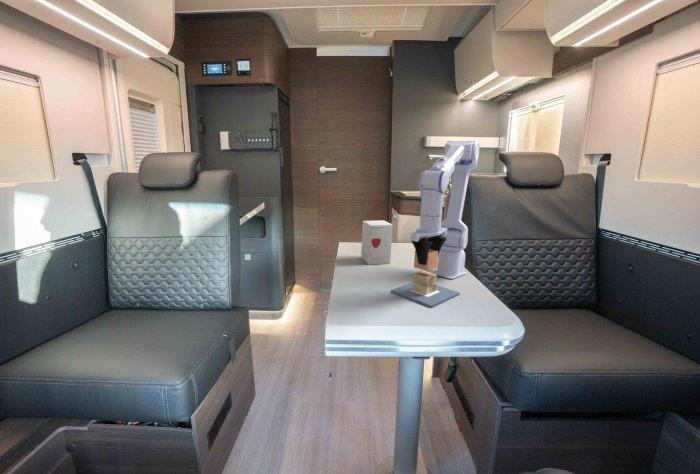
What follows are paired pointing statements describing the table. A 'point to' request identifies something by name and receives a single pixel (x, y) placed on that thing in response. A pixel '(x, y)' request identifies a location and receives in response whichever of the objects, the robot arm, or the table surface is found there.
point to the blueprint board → (429, 299)
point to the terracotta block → (430, 262)
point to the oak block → (424, 282)
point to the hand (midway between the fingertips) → (427, 262)
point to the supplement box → (376, 242)
